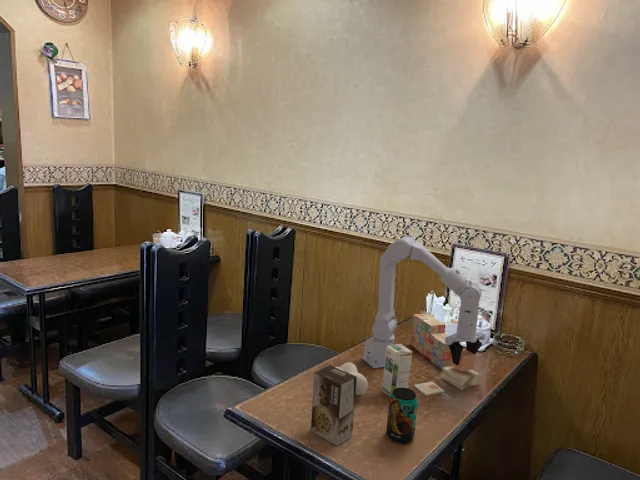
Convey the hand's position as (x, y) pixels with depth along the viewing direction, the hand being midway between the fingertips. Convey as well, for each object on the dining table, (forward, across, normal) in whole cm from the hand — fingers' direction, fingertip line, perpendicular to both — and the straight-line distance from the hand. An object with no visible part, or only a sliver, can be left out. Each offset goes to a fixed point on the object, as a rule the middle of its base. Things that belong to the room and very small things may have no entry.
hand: (462, 362), depth 151 cm
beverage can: (+7, -36, -19) cm, 41 cm away
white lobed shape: (+7, -40, +4) cm, 41 cm away
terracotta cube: (+1, 0, 0) cm, 1 cm away
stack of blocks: (+7, +4, +19) cm, 21 cm away
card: (+6, -13, -1) cm, 15 cm away
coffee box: (+7, -52, -12) cm, 54 cm away
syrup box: (+7, -25, 0) cm, 26 cm away
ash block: (+7, 0, 0) cm, 7 cm away
